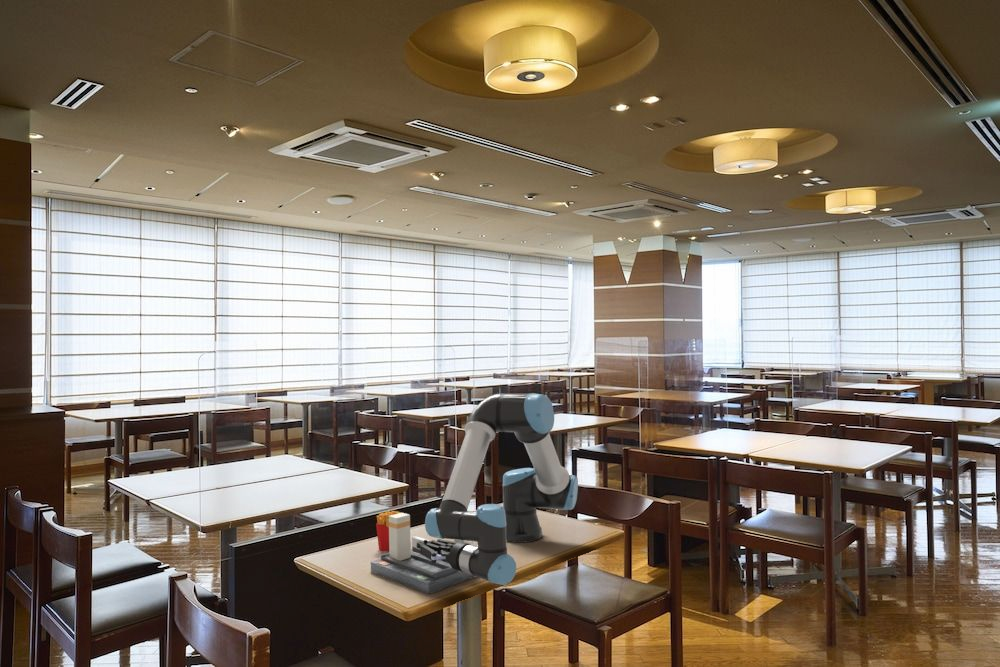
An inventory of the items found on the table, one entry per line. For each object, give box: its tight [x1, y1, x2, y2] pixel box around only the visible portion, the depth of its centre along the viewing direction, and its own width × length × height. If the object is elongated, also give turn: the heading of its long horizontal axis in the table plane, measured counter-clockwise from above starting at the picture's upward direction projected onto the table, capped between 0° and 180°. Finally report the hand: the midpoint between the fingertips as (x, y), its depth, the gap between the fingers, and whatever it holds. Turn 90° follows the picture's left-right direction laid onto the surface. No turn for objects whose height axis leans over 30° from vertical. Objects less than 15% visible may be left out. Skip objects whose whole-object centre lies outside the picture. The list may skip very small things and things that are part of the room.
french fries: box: [375, 510, 401, 552], centre depth 222 cm, size 8×4×12 cm, turn 129°
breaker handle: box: [388, 512, 412, 561], centre depth 201 cm, size 5×4×13 cm
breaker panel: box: [370, 539, 475, 595], centre depth 197 cm, size 22×27×16 cm
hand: (414, 541), depth 196 cm, fingers closed
